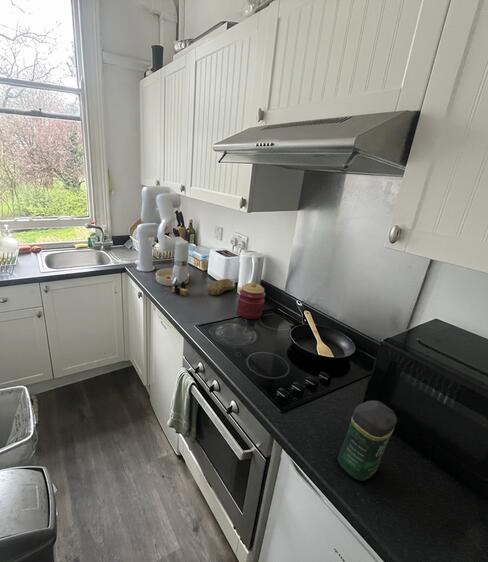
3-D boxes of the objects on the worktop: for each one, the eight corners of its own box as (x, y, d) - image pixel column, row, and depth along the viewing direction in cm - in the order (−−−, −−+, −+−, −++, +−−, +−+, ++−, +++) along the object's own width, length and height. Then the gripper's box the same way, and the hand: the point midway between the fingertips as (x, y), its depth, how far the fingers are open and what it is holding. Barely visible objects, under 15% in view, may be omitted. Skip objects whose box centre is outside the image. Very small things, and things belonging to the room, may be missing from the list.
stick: (171, 291, 173) (171, 287, 172) (174, 290, 176) (174, 285, 174) (185, 295, 169) (186, 291, 168) (188, 294, 171) (188, 289, 170)
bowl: (148, 281, 186) (148, 274, 185) (168, 272, 204) (168, 266, 202) (176, 289, 177) (177, 282, 175) (195, 279, 194) (195, 272, 193)
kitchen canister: (254, 307, 161) (259, 276, 154) (266, 318, 149) (272, 286, 143) (232, 309, 157) (236, 277, 150) (243, 320, 145) (248, 287, 139)
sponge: (224, 287, 188) (199, 286, 176) (228, 276, 185) (203, 274, 173) (236, 298, 179) (210, 298, 167) (241, 287, 176) (215, 286, 164)
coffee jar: (360, 488, 71) (382, 430, 64) (331, 461, 77) (349, 405, 70) (382, 469, 76) (405, 414, 69) (353, 445, 82) (372, 392, 75)
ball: (164, 281, 186) (164, 276, 185) (167, 280, 188) (167, 275, 187) (168, 282, 184) (169, 277, 183) (171, 281, 187) (172, 276, 186)
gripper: (183, 257, 174) (182, 286, 181) (166, 264, 160) (165, 295, 167) (194, 260, 171) (193, 289, 177) (178, 267, 157) (177, 298, 163)
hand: (179, 292), depth 172 cm, fingers open, 5 cm apart
